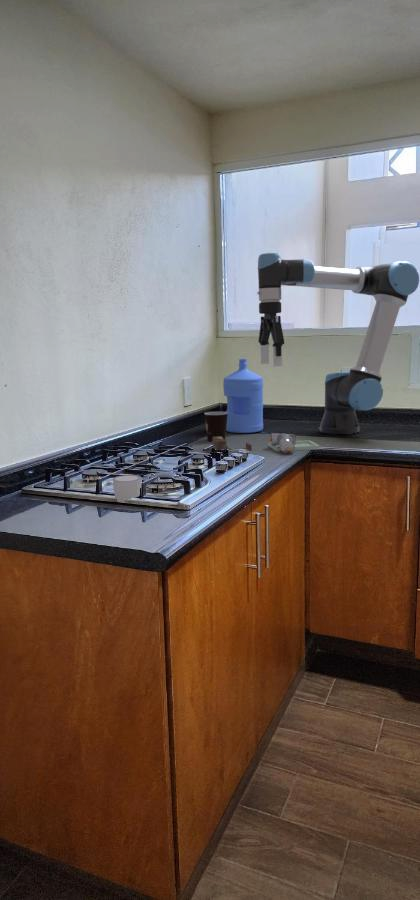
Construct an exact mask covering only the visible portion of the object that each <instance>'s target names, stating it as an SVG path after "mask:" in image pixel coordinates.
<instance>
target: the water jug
mask: <svg viewBox="0 0 420 900" xmlns="http://www.w3.org/2000/svg"><path fill="white" fill-rule="evenodd" d="M238 361H239V363H238V369H237V370H236V371H234V372H232V373H230V374H229V375H226V376H225V377H224V378H223V384H222V387H223V395H224V397H226V402H227V403H226V404H227V405H226V411H225V412H227V413H228V416H227V426H226V432H228V433H235V434H249V433H250V434H251V433H258V432H261V431H262V430H263V429H264V417H263V415H264V414H263V413H264V410H263V409H264V403H263V399H264V397H263V396H264V395H263V394H264V393H263V392H264V391H263V389H264V381H263V379H264V378H263V376H261V375H259V374H257V373H254V372H252V370H251V371H250V370H248V367H247V366H248V362H247V361H248V359H247V358H240V359H238Z"/></svg>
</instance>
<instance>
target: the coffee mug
mask: <svg viewBox="0 0 420 900" xmlns="http://www.w3.org/2000/svg"><path fill="white" fill-rule="evenodd" d="M203 416H204V423H205V429H206V438H207V441H208V442H212V437H217V436H221V437H222V438H223V439H225V440H226V434H227V431H226V426H227V416H228V413H227V412H226V411H208V412H207V411H206V412H204V413H203Z"/></svg>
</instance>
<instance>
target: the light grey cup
mask: <svg viewBox="0 0 420 900" xmlns="http://www.w3.org/2000/svg"><path fill="white" fill-rule="evenodd" d="M142 479H143V478H142V476H140V475H135V474H124V475H117V476H115V477H113V478H112V479H111V480H112V486H113V494H114V499H115V498H116V499H117V501H116V502H118V503H125V502H124V501H125V500H128V499H131V498H135V497H138V496H139V494H140V488H141V489H142V484H143V481H142Z"/></svg>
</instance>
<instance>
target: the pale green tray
mask: <svg viewBox="0 0 420 900" xmlns="http://www.w3.org/2000/svg"><path fill="white" fill-rule="evenodd" d="M268 447H269V448H270V449H272V450H274V451H276V452H282V450H281V448H280V446H279V445H270V442H268ZM294 448H295V450H294V452H295V451H312V450H315V451H317V450H320V448H321V447H320V445H319V444H318V443H316V442H314V441H312V440H310V439H309V440H296V444H295V446H294Z"/></svg>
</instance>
